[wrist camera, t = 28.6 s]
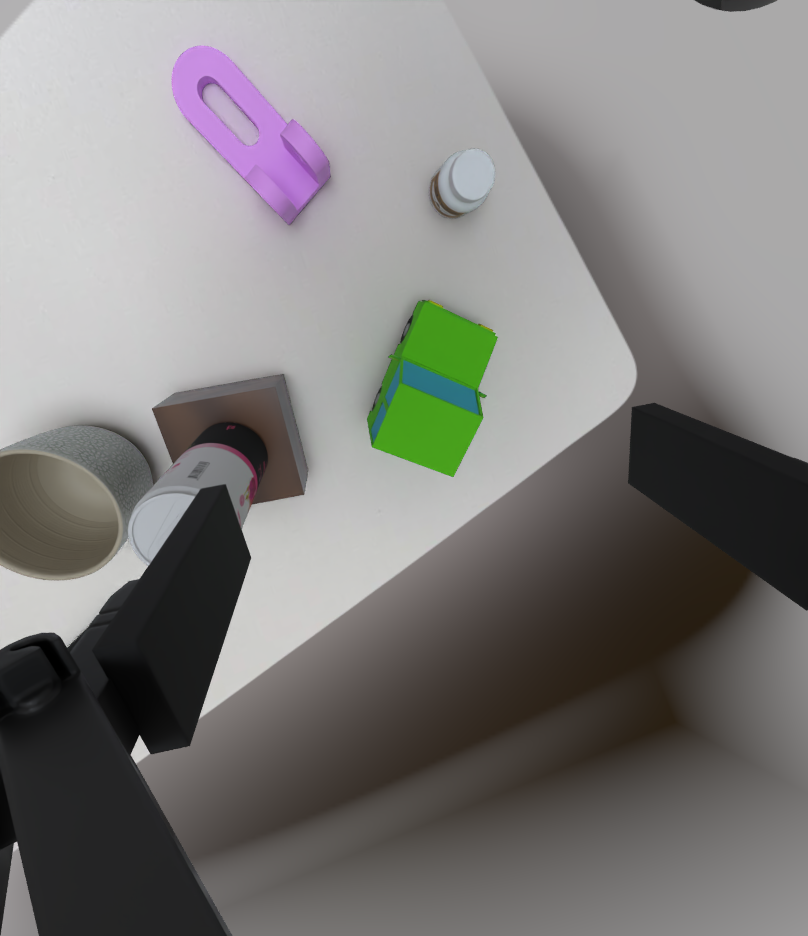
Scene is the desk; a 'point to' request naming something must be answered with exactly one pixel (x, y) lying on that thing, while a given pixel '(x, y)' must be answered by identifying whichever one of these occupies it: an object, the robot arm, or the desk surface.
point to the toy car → (432, 389)
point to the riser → (250, 406)
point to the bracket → (279, 145)
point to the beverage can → (199, 483)
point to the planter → (68, 501)
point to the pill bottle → (462, 183)
